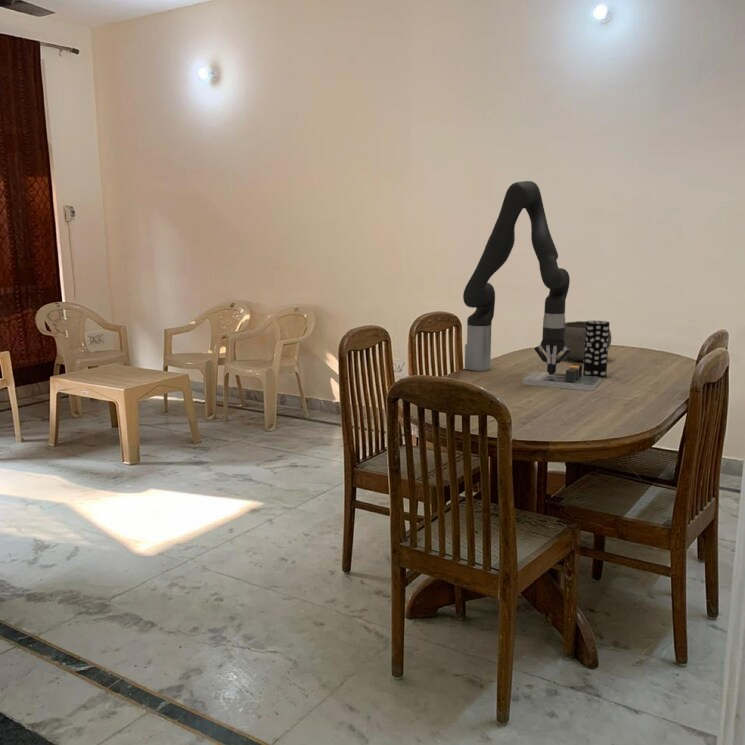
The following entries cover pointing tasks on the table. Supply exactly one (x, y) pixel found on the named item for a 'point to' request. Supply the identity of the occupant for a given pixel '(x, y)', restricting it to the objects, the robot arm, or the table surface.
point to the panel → (563, 380)
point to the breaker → (576, 370)
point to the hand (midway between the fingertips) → (551, 373)
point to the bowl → (577, 339)
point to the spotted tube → (596, 348)
